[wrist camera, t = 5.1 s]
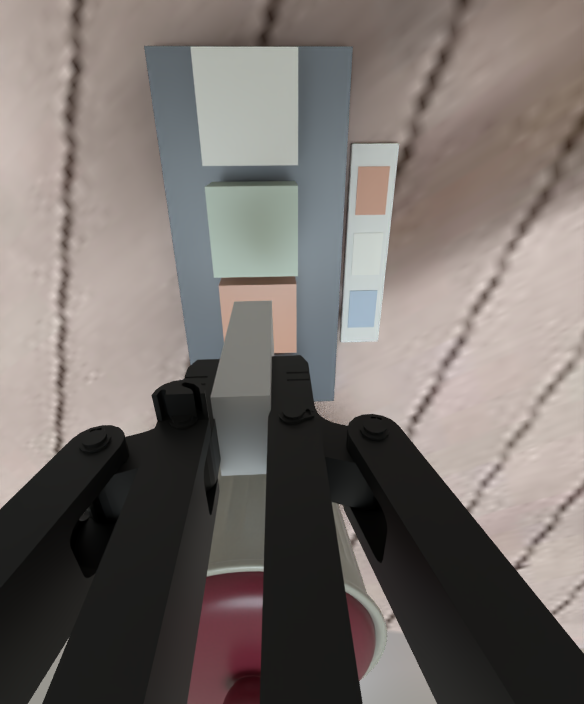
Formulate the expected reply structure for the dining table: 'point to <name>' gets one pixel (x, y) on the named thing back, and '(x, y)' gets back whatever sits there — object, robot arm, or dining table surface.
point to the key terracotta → (265, 290)
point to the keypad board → (310, 175)
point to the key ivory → (247, 105)
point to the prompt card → (367, 238)
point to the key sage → (253, 228)
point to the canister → (259, 599)
